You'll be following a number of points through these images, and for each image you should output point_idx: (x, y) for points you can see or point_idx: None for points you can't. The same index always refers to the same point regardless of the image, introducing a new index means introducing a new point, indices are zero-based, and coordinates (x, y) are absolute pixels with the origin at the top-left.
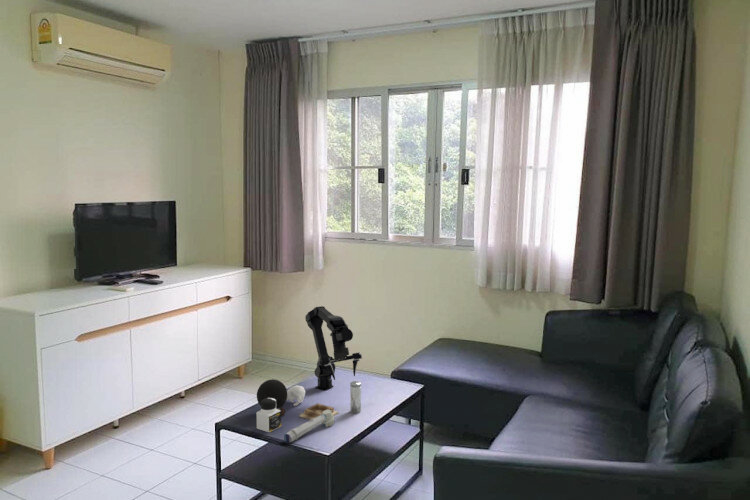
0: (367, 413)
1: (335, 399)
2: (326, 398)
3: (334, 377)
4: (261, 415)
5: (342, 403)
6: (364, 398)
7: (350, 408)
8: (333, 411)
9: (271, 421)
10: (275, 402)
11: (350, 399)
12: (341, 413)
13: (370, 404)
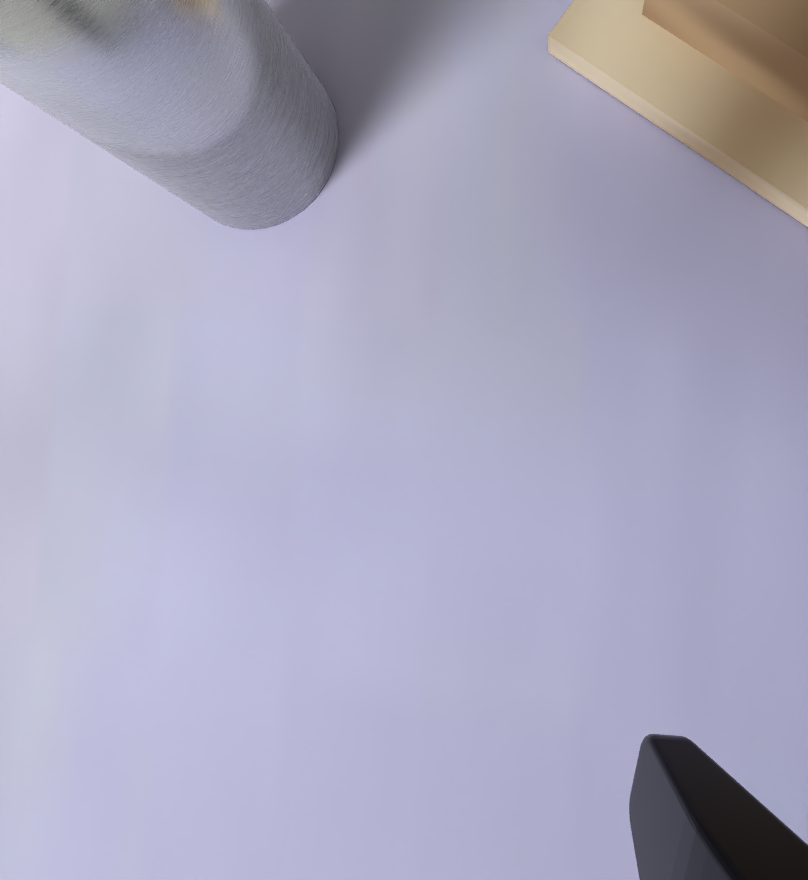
0: None
1: (584, 732)
2: None
3: (689, 791)
4: None
5: (458, 516)
6: (82, 698)
7: (319, 102)
8: (645, 3)
9: None
10: None
11: (250, 5)
12: (493, 58)
13: (15, 428)
